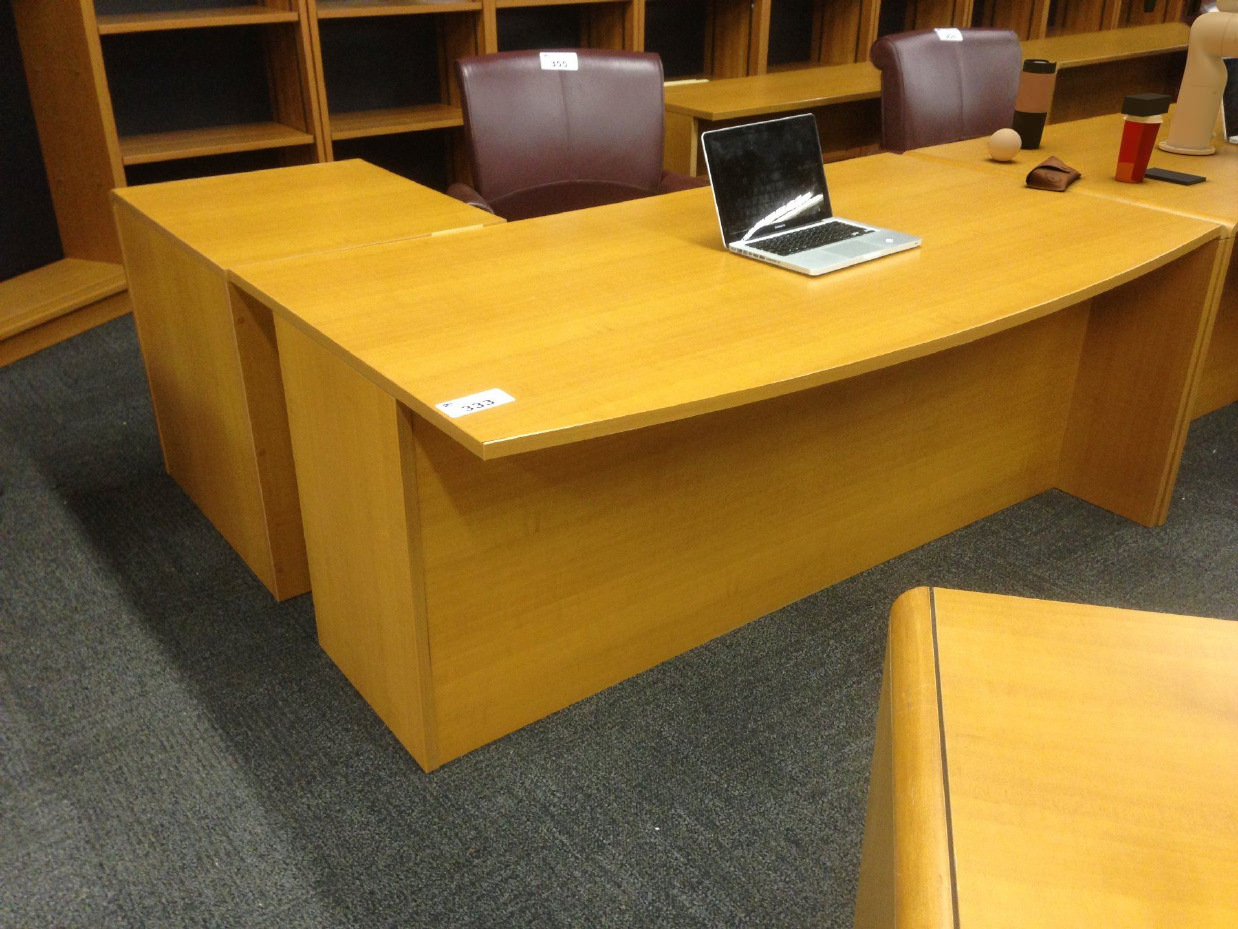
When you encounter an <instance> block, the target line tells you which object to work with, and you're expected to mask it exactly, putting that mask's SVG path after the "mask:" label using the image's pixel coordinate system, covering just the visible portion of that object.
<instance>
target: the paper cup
mask: <svg viewBox="0 0 1238 929" xmlns="http://www.w3.org/2000/svg"><path fill="white" fill-rule="evenodd" d="M1122 118H1123V119H1122V120H1124V123H1123V130H1122V134H1121V140H1120V146H1119V151H1118V158H1117V163H1116V168H1115V169H1116V170H1115V176H1114V179H1115V181H1118V182H1121V183H1122V182H1123V183H1128V184H1129V183H1130V184H1140V183H1143V181H1144V178H1145V177H1144V175H1145V172H1146V169H1148V166H1149V164H1150V163H1149V162H1150V160H1151V156H1152V154H1153V151H1154V147H1155V144H1156V140H1157V137H1158V134H1159V131H1160V128H1161V124H1162V123H1164V120H1163V116H1162V114H1159V115H1153V116H1147V117H1138V116H1132V115H1126V114H1125V116H1124V117H1122Z"/></svg>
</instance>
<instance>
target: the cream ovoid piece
mask: <svg viewBox="0 0 1238 929" xmlns="http://www.w3.org/2000/svg"><path fill="white" fill-rule="evenodd" d="M1021 147H1022V146H1021V138H1020V136H1019V135H1018V133H1017V132H1015V131H1014V130H1012V128H1001V129H998V130H997V131H995V132H994V133H993V134H992V135H991V137H990V138H989V140H988V142H987V150H988V154H989V156H990V157H991V158H992V159H994V160H996V161H998V162H1008V161H1011V160H1013V159H1014V158H1015V157H1017V155H1018V154H1019V152H1020V151H1021V149H1020V148H1021Z"/></svg>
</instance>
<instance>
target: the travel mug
mask: <svg viewBox="0 0 1238 929" xmlns="http://www.w3.org/2000/svg"><path fill="white" fill-rule="evenodd" d="M1022 64H1023V65H1022V70H1021V74H1020V75H1021V76H1020V79H1019V85H1018V90H1017V94H1016V95H1017V96H1016V100H1015V105H1014V110H1013V116H1012V117H1013V118H1012V124H1011V129H1012V130H1014V131H1015V132H1017V133H1018V135H1019V136H1020V138H1021V146H1022V147H1021V148H1020V150H1037V149H1039V148H1040V146H1041V142H1042V137H1043V132H1044V130H1045V129H1044V128H1045V125H1046V120H1047V115H1048V111H1049V106H1050V102H1051V96H1052V90H1053V85H1054V80H1055V74H1056V69H1057V65H1058V62H1057V61H1055V62H1050V61H1049V59H1044V58H1043V59H1041V58H1028V59H1024V60H1023V63H1022Z"/></svg>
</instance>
